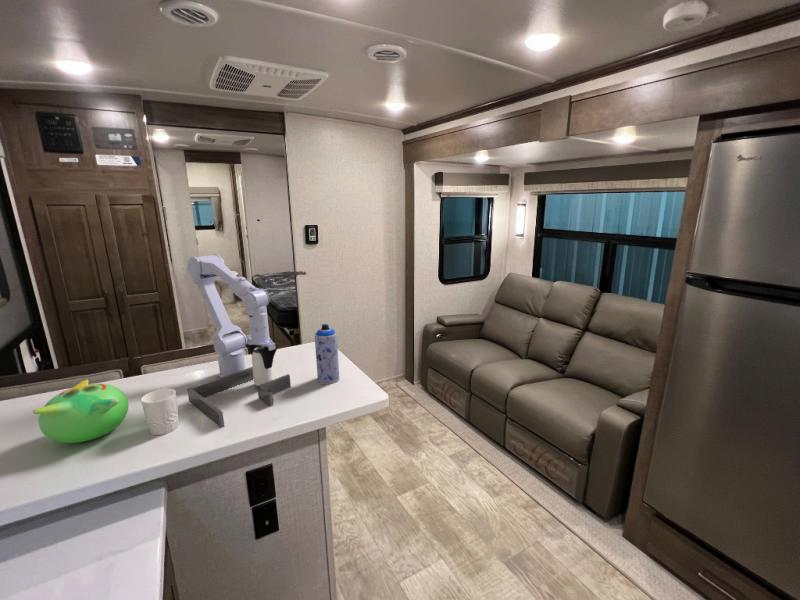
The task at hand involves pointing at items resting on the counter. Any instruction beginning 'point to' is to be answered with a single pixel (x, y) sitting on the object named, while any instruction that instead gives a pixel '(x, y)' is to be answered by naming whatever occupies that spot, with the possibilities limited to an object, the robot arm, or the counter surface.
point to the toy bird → (83, 412)
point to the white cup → (161, 411)
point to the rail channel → (229, 381)
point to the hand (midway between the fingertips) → (263, 365)
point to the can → (260, 369)
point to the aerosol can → (327, 355)
